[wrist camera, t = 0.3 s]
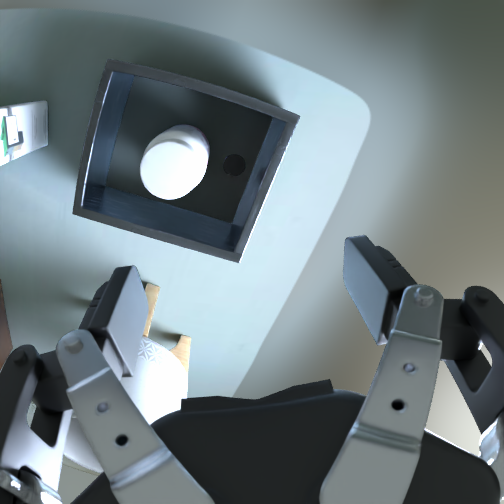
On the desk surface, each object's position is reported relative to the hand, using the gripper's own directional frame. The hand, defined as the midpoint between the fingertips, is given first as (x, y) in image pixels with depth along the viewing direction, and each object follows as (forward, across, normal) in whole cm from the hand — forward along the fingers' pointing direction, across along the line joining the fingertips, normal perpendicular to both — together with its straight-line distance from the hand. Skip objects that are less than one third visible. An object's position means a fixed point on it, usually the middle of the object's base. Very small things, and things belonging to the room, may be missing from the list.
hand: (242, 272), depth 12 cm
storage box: (+18, +4, -2) cm, 19 cm away
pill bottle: (+19, +4, -2) cm, 19 cm away
